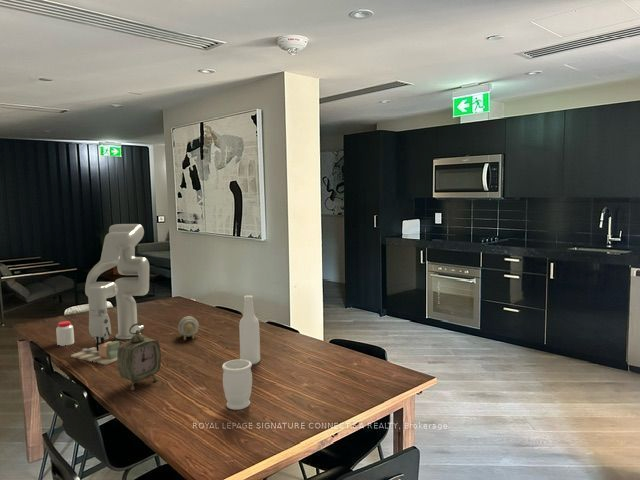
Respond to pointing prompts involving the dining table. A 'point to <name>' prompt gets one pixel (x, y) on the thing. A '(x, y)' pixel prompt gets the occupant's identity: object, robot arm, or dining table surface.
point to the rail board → (94, 355)
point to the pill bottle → (65, 333)
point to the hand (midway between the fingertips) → (100, 350)
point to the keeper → (103, 349)
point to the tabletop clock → (138, 358)
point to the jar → (237, 383)
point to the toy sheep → (188, 326)
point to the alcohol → (249, 333)
